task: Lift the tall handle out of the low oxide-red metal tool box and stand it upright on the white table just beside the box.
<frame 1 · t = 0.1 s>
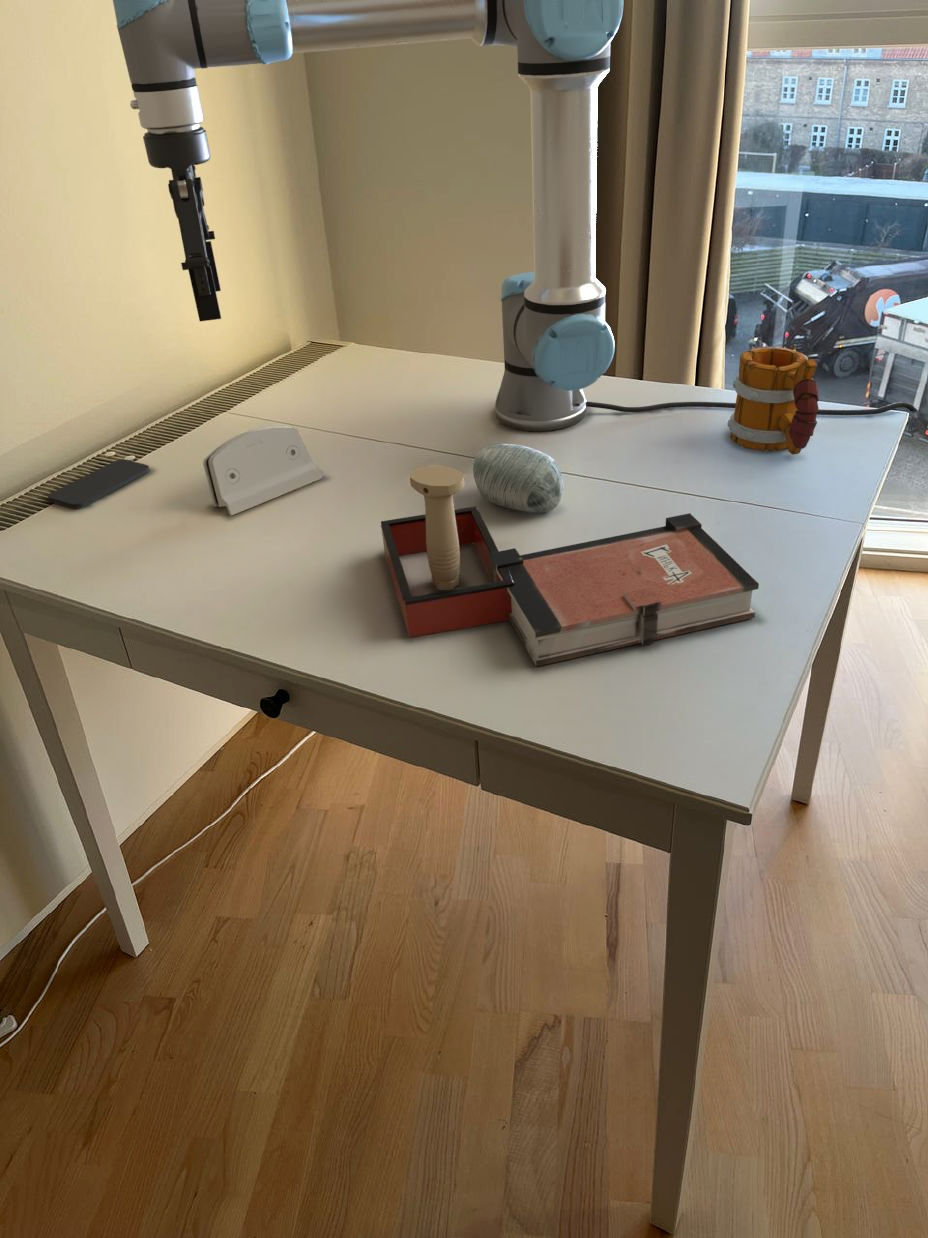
hand: (210, 305, 128), 28 cm above the table, tool pointing down, fingers open, 13 cm apart
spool: (517, 504, 135), on the table
handle: (446, 586, 119), resting in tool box
mug: (773, 444, 146), on the table
phone: (101, 486, 149), on the table
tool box: (446, 585, 119), on the table
white piece: (265, 490, 144), on the table
book: (619, 605, 113), on the table, touching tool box
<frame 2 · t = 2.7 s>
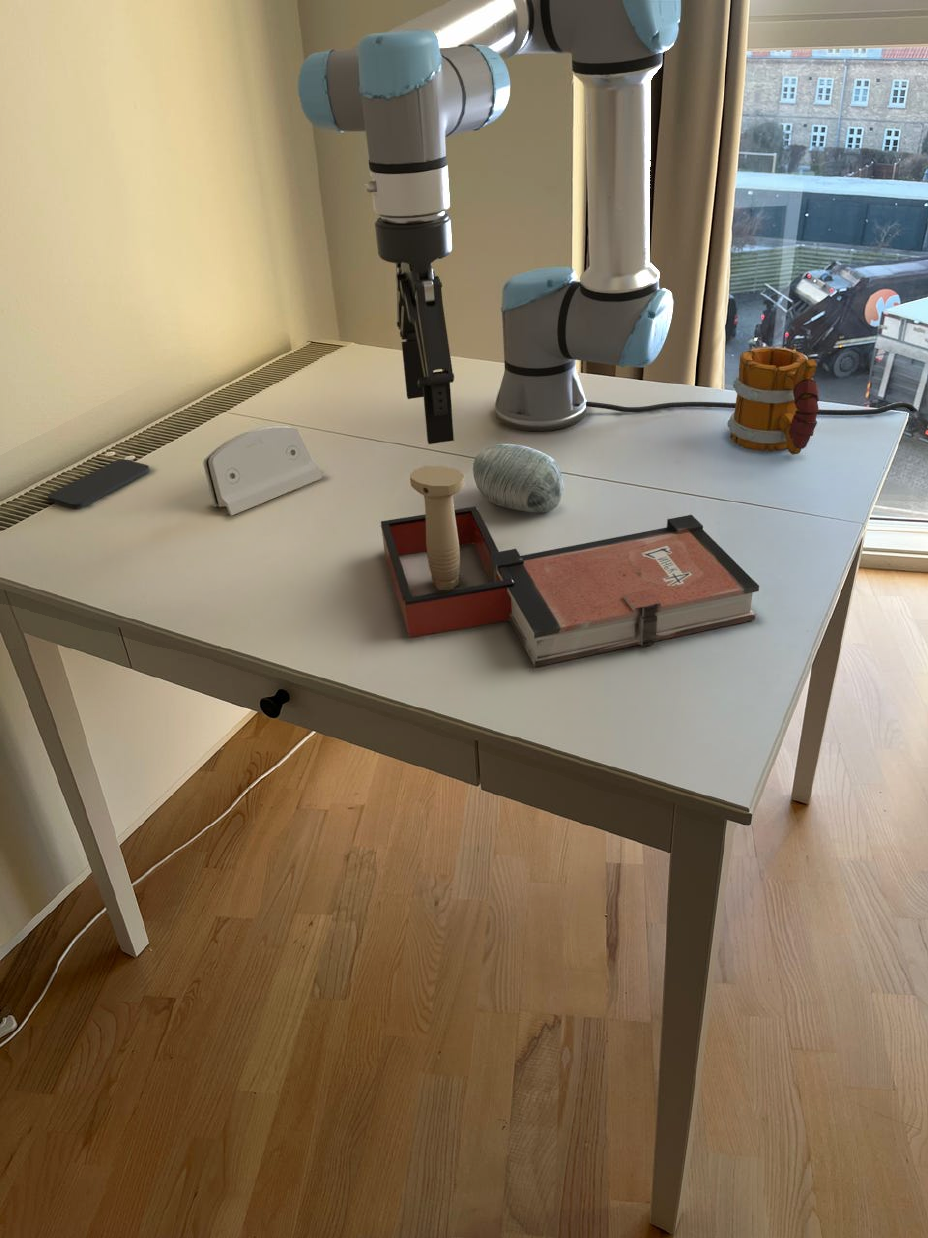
hand: (429, 417, 106), 22 cm above the table, tool pointing down, fingers open, 13 cm apart
nothing on the table moved.
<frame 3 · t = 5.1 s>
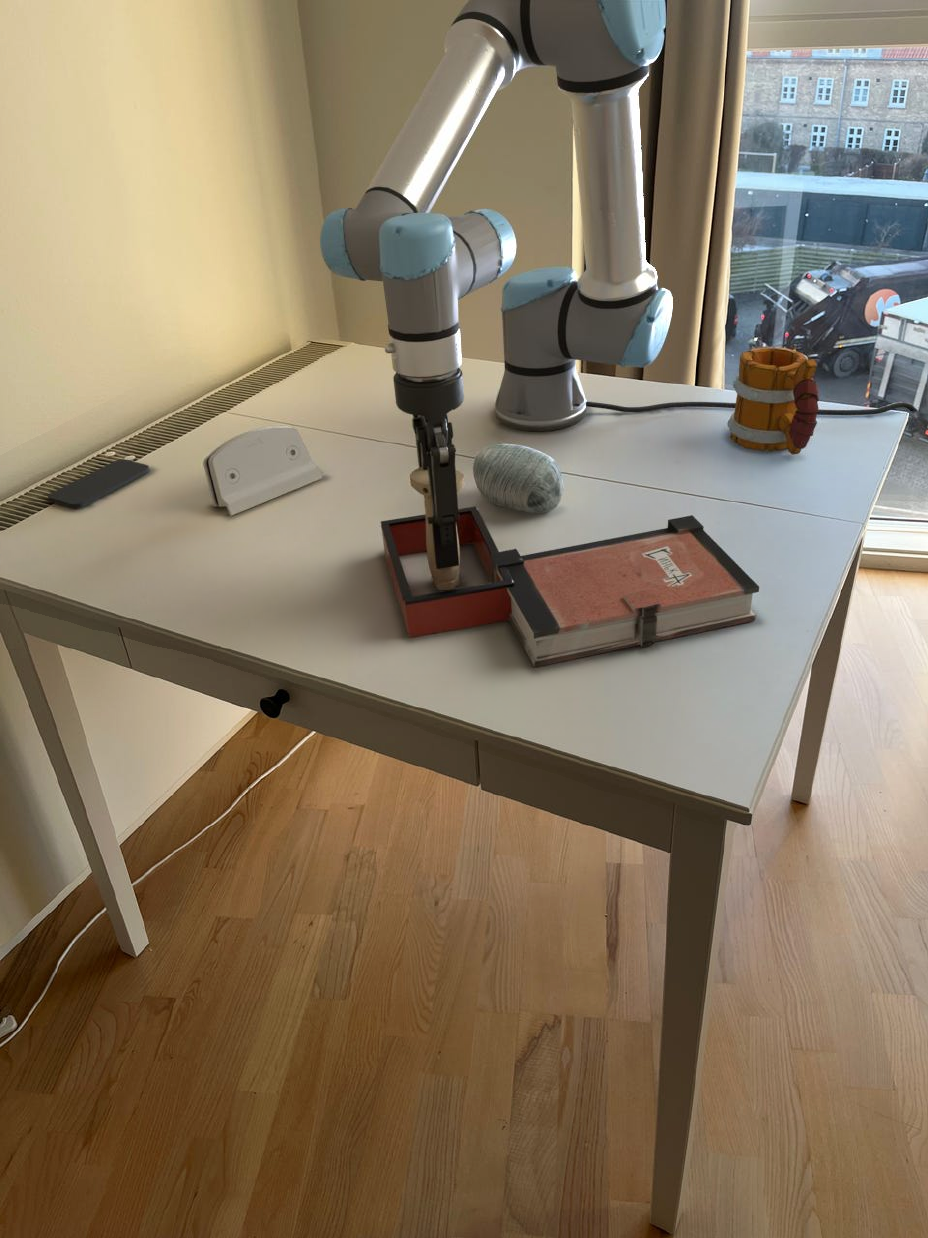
hand: (443, 555, 116), 4 cm above the table, tool pointing down, fingers closed on handle, 4 cm apart
handle: (446, 586, 119), resting in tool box, touching gripper
everything else where it was.
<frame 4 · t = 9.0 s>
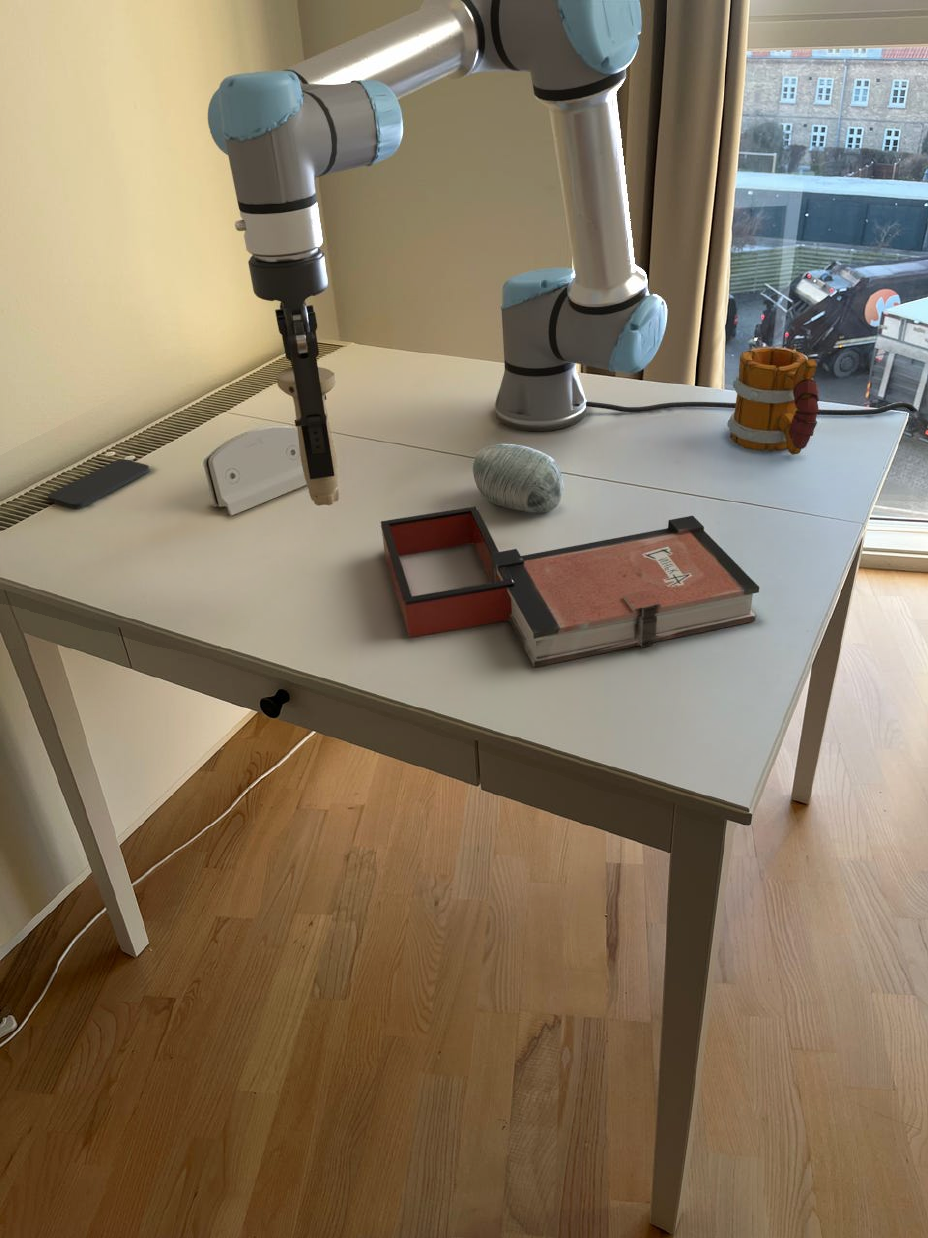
hand: (320, 467, 108), 18 cm above the table, tool pointing down, fingers closed on handle, 4 cm apart
handle: (325, 502, 110), point 13 cm above the table, touching gripper
everything else where it was.
when the fingers open (4 cm above the table, at t = 12.8 s): handle stays where it is, on the table.
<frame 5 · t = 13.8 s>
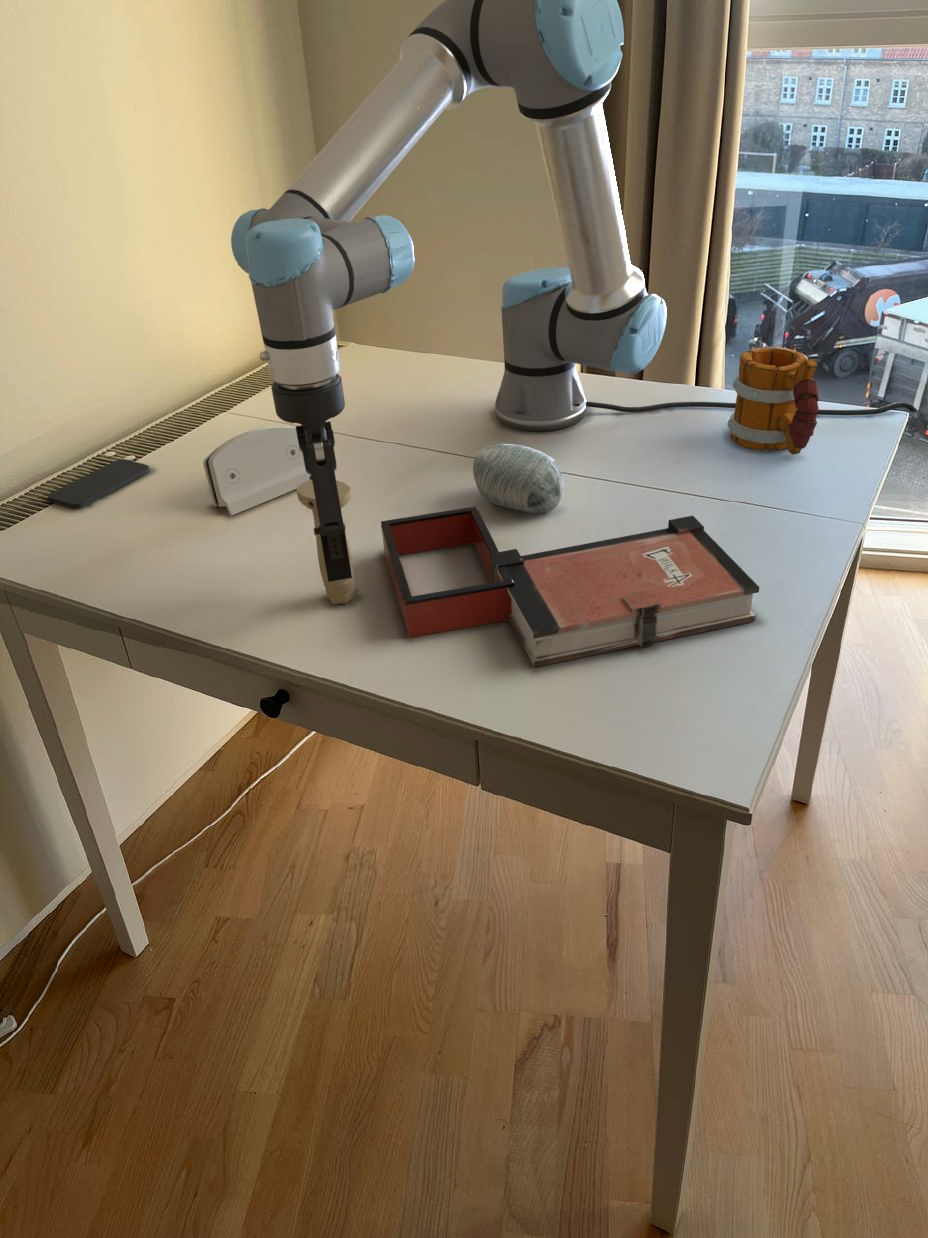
hand: (333, 549, 114), 7 cm above the table, tool pointing down, fingers open, 13 cm apart
handle: (341, 599, 118), on the table
everything else where it was.
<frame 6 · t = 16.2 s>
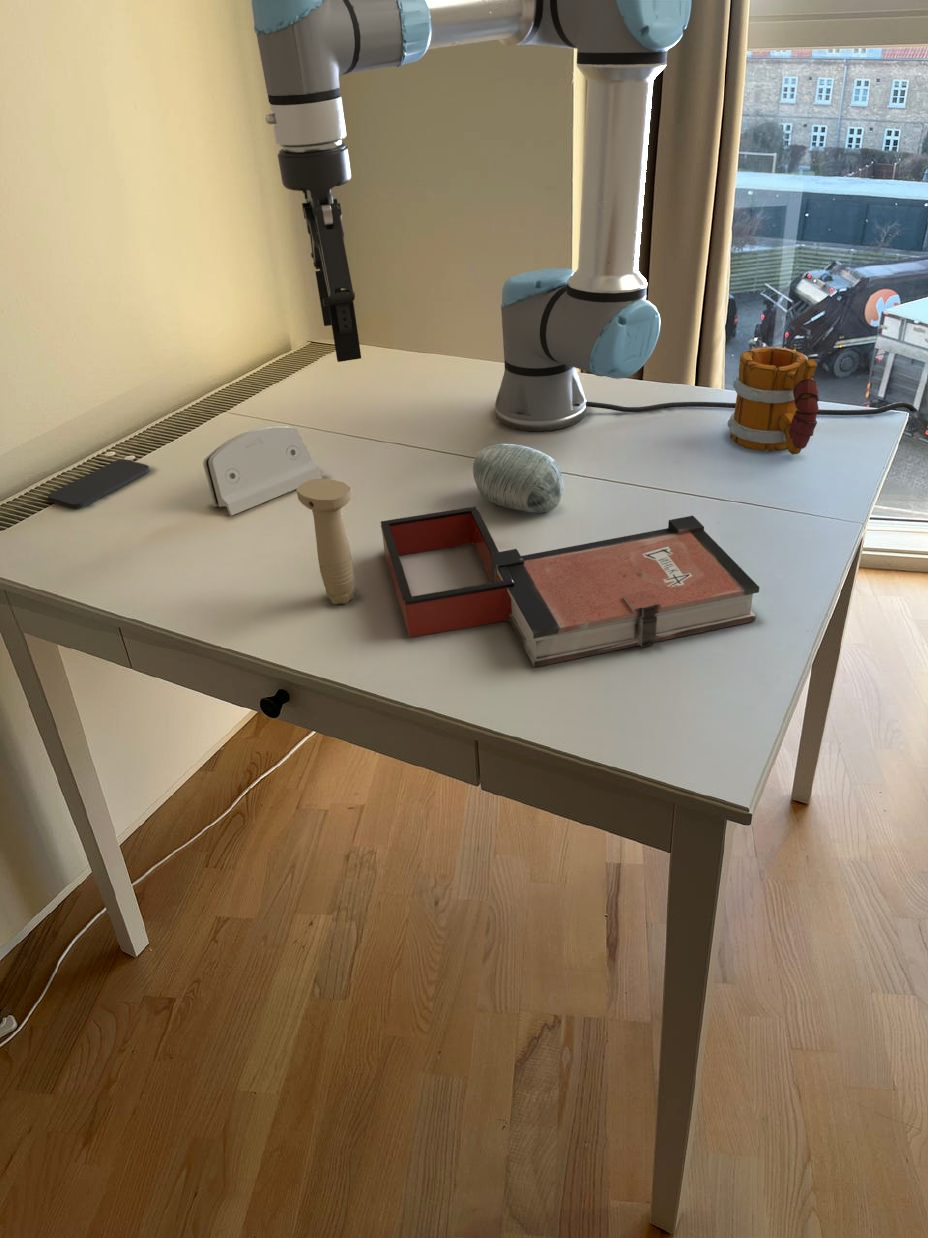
hand: (341, 340, 114), 27 cm above the table, tool pointing down, fingers open, 13 cm apart
nothing on the table moved.
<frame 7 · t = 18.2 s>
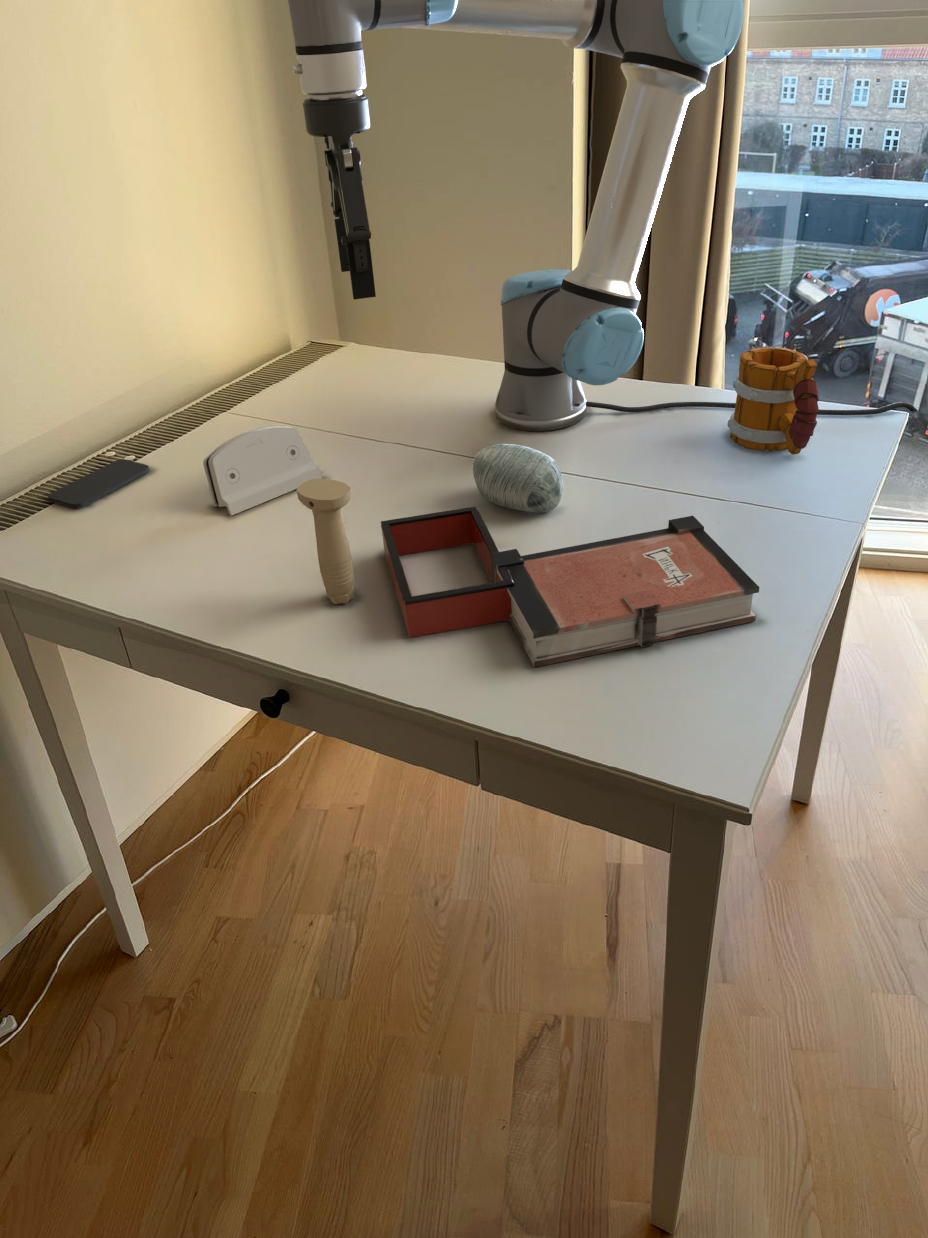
hand: (357, 283, 122), 31 cm above the table, tool pointing down, fingers open, 13 cm apart
nothing on the table moved.
at the end: handle inside the target area (0.0 cm from its centre), on the table; handle tilted 0°; the gripper is holding nothing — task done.
